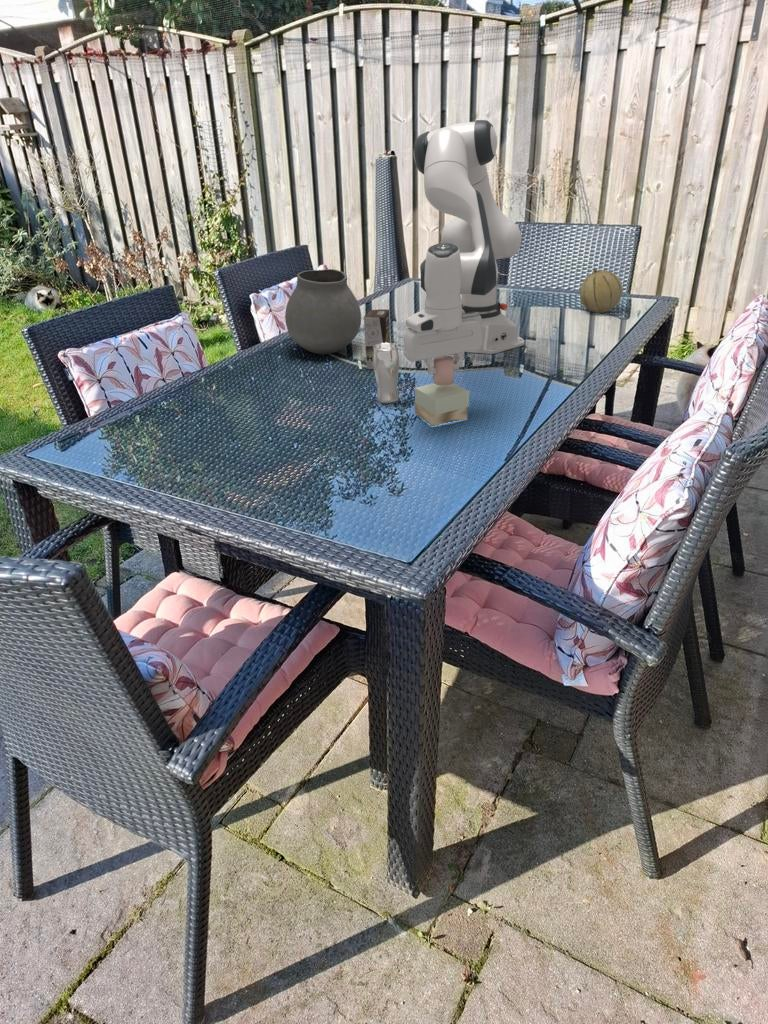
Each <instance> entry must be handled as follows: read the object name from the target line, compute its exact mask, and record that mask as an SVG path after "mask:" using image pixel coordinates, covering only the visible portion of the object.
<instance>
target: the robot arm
mask: <svg viewBox="0 0 768 1024" xmlns="http://www.w3.org/2000/svg"><path fill="white" fill-rule="evenodd" d="M497 135H498V134H497V133H496V131H495V128H494V125H493V124H492V122H490V121H489V120H487V119H486V120H485V119H476V120H475V121H467V122H459V123H454V124H451V125H448V126H444V127H441V128H440V127H439V128H437V129H435V130H431V131H426V132H424V133H422V134H420V135H418V136H417V138H416V139H415V141H414V144H413V160H414V164H415V166H416V168H417V170H418V172H420V173H421V174H422V175H423V187H424V194H425V195H424V196H425V198H426V199H427V201H428V202H429V204H430V205H431V206H432V207H433V209H436V210H437V211H439V212H441V213H443V214H447V215H448V216H453V217H455V218H454V219H449V220H448V221H447V222H446V223H445V225H444V226H443V228H442V230H441V231H442V232H441V235H440V240H441V242H439V243H436V244H433V245H431V246H429V248H428V249H427V250H426V256H425V258H424V260H423V261H422V262H421V263H420V267H419V269H420V288H421V289H422V290H423V291H424V292H425V294H426V296H425V301H424V308H422V309H421V310H419V311H417V312H416V313H415V312H414V313H413V314H412V315H409V316H408V317H407V318H406V319H405V325H406V327H408V328H406V330H405V332H404V336H403V347H402V348H403V349H402V350H403V357H404V358H405V359H406V360H408V361H409V362H412V363H413V362H415V363H416V362H419V361H423V362H424V364H425V365H426V367H427V373H428V375H430V376H434V375H435V374H436V368H435V367H434V365H432V363H433V359H434V358H436V357H441V356H452V355H454V356H455V357H454V372H455V371H459V370H460V363H461V361H462V359H463V358H464V353H474V354H475V353H477V354H478V353H479V354H485V355H494V354H497V353H501V352H504V351H505V352H506V351H508V350H512V349H515V348H519V347H523V346H525V344H526V343H525V340H524V338H522V337H521V336H519V333H518V332H519V331H518V327H517V325H516V324H515V322H513V321H512V320H511V319H509V318H508V317H507V316H506V315H504V313H502V311H504V312H505V311H506V310H507V309H508V304H506V303H504V302H502V303H501V302H499V301H497V299H498V298H497V291H498V280H499V279H498V278H499V269H498V264H497V263H498V262H497V260H500V259H501V260H503V259H509V258H512V257H514V256H515V255H516V254H517V253H518V251H519V249H520V247H521V243H522V233H521V232H522V231H521V229H520V228H519V226H518V224H516V223H515V222H513V221H512V220H510V219H509V218H508V216H506V215H505V214H504V213H503V211H502V210H501V209H500V207H499V206H498V204H497V202H496V200H495V197H494V194H493V191H492V187H491V184H490V178H489V173H488V168H487V164H488V163H490V162H492V161H493V160H494V158H495V157H496V154H497V149H498V136H497Z"/></svg>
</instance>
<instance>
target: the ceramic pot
mask: <svg viewBox="0 0 768 1024" xmlns="http://www.w3.org/2000/svg"><path fill="white" fill-rule="evenodd" d="M296 276H297V278H296V286H295V288H294V289H293V291H292V293H291V295H290V296H289V299H288V301H287V302H286V306H285V316H284V317H285V318H284V320H285V325H286V329H287V331H288V335H289V336H290V338H291V339H292V340H293V341H294V342H295V343H296V344H297V345H299V346H300V347H301V348H302V349H305V350H306V351H308V352H309V353H310V352H311V353H312V354H316V355H331V354H334V353H338V352H340V351H341V350H343V349H344V348H345V347H347V346H348V345H349V344H351V343H352V341H353V340H354V339H355V338H356V337H357V335H359V331H360V329H361V325H362V311H361V308H360V305H359V302H358V300H357V298H356V296H355V295H354V293H353V292H352V290H351V289H350V287H349V285H348V276H347V273H345V272H344V271H341V270H338V269H333V268H325V269H318V270H317V269H316V270H315V269H310V270H304V271H301V272H299V273H297V275H296Z"/></svg>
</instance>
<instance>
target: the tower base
mask: <svg viewBox="0 0 768 1024" xmlns="http://www.w3.org/2000/svg"><path fill="white" fill-rule="evenodd" d="M415 414H417V415H418V416H419V417H421V418H422V419H423V420H425V421H426V422H427V423H429V424H430V425H431V426H435V425H439V424H443V423H448V422H453V421H459V420H464V419H467V420H468V407H465V408H461V409H457V410H453V411H450V412H446V413H442V414H438V415H434V414H433V413H431V412H430V411H428V410H426V409H425V408H423V407H422V406H420V405H419V404H417V403H415V402H414V415H415ZM417 415H416V416H417ZM418 416H417V417H418ZM419 417H418V418H419ZM423 420H422V421H423Z"/></svg>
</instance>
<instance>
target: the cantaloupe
mask: <svg viewBox="0 0 768 1024" xmlns="http://www.w3.org/2000/svg"><path fill="white" fill-rule="evenodd" d="M622 296H623V284H622V281H621V280H620V278H619V277H618V276H617V274H616V273H615V272H612V271H609V270H597V269H594V270H593V273H590V274H589V275H587V276H586V277H585V278H584V280H583V281H582V283H581V286H580V289H579V297H580V298H579V299H580V301H581V304H582V305H583V306H584V308H586V310H588V311H591V312H592V313H599V314H600V313H605V312H607V311H609V310H611V309H613V308H615V307H616V306H617V305H618V304H619V303H620V301H621V299H622Z"/></svg>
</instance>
